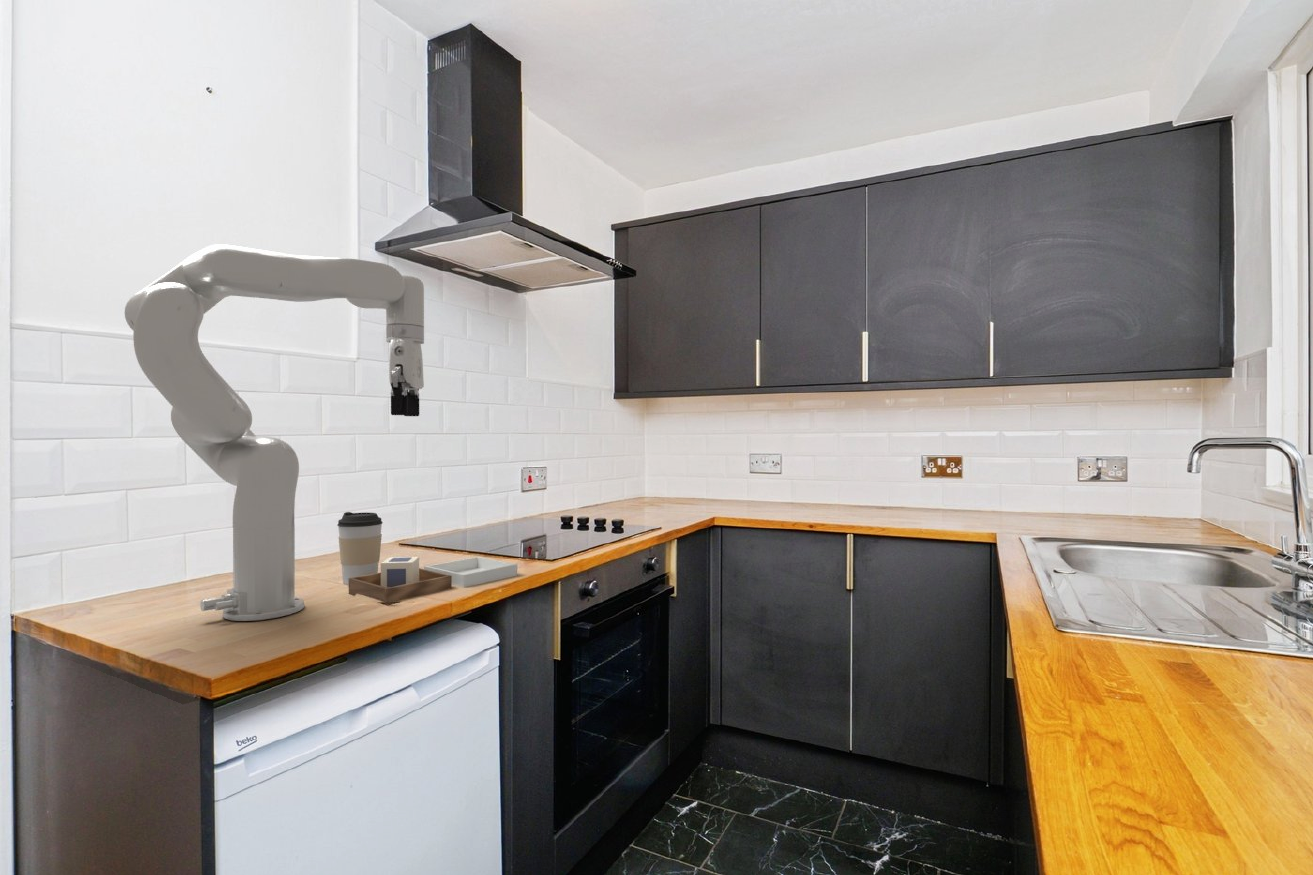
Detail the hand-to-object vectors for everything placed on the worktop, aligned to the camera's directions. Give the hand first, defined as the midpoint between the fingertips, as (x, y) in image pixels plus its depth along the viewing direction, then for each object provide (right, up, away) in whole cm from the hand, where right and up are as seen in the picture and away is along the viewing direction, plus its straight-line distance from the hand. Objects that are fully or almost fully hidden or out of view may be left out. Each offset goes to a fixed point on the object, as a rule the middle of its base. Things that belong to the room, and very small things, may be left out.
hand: (405, 415), depth 138 cm
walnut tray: (+2, -36, -7) cm, 37 cm away
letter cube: (+2, -36, -7) cm, 36 cm away
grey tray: (+13, -36, +5) cm, 38 cm away
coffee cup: (-11, -36, +3) cm, 38 cm away
